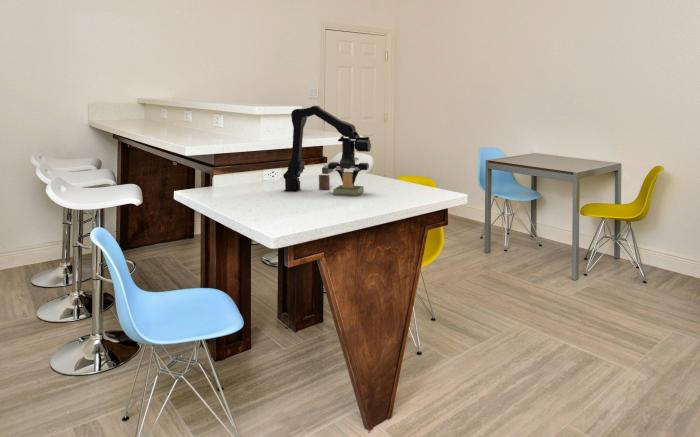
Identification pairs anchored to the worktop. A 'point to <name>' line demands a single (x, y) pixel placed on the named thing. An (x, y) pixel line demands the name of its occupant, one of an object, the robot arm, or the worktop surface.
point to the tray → (348, 190)
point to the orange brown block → (348, 180)
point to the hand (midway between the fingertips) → (348, 184)
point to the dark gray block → (326, 170)
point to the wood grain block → (324, 182)
